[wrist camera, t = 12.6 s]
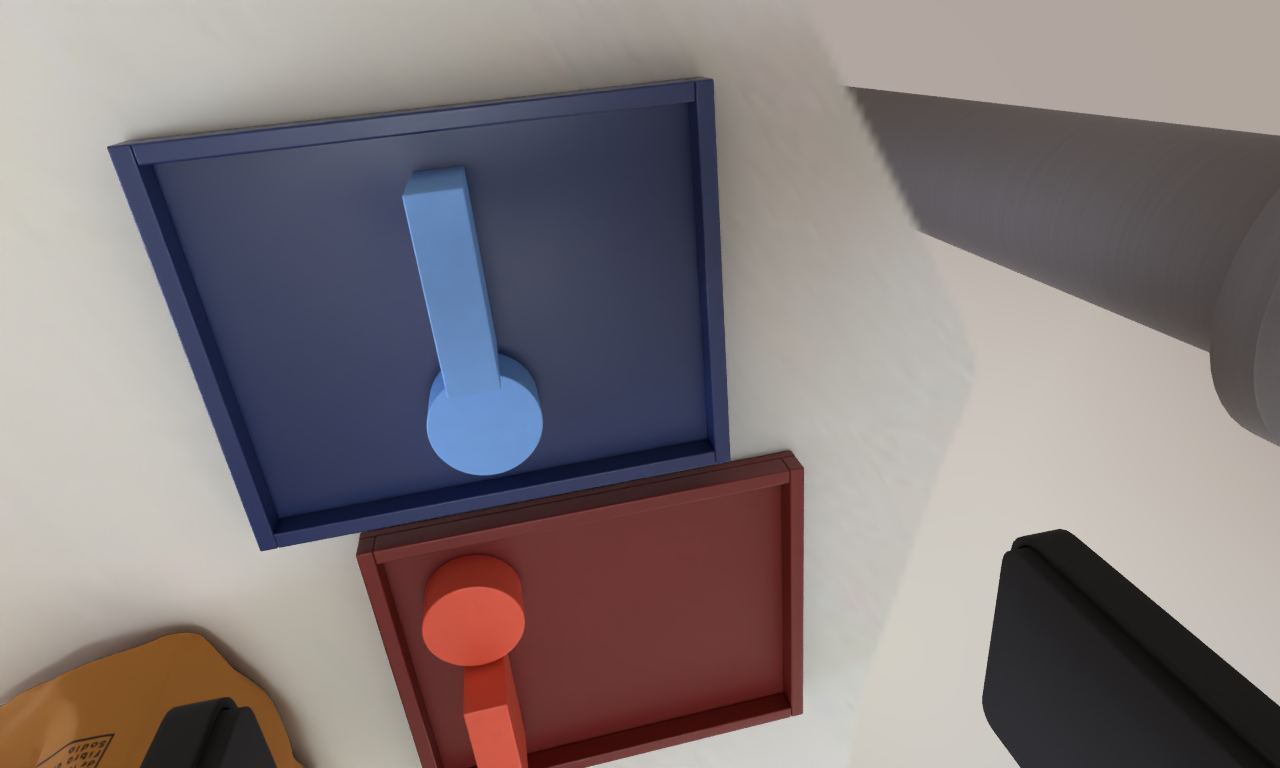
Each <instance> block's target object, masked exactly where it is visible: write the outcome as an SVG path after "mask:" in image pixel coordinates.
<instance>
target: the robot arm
mask: <svg viewBox="0 0 1280 768" xmlns="http://www.w3.org/2000/svg"><path fill="white" fill-rule="evenodd" d="M982 704H983V710H984V713H985V716H986V718H987V721H988V723H989V725H990V726H991V728H992V729H993V731H994V732H995V734H996V735H997V736H998V738H999V739H1000V740H1001V742H1002V743H1003V744H1004V746H1005V747H1006V748H1007V750H1008V751H1009V752H1010V754H1011V755H1012V756H1013V758H1014V759H1015V761H1016V762H1017V763H1018V765H1019V766H1020V767H1021V768H1280V706H1279V705H1277V704H1276V703H1275V702H1274V701H1273V700H1271V699H1270V698H1269V697H1268V696H1267V695H1265V694H1264V693H1263V692H1262V691H1261V690H1259V689H1258V688H1257V687H1256V686H1255V685H1253V684H1252V683H1251V682H1250V681H1249V680H1247V679H1246V678H1245V677H1244V676H1243V675H1241V674H1240V673H1239V672H1238V671H1237V670H1235V669H1234V668H1233V667H1232V666H1231V665H1229V664H1228V663H1227V662H1226V661H1224V660H1223V659H1222V658H1221V657H1220V656H1219V655H1217V654H1216V653H1215V652H1214V651H1213V650H1211V649H1210V648H1209V647H1208V646H1206V645H1205V644H1204V643H1203V642H1202V641H1201V640H1199V639H1198V638H1197V637H1196V636H1195V635H1193V634H1192V633H1191V632H1190V631H1189V630H1187V629H1186V628H1185V627H1184V626H1183V625H1181V624H1180V623H1179V622H1178V621H1177V620H1175V619H1174V618H1173V617H1172V616H1171V615H1169V614H1168V613H1167V612H1166V611H1165V610H1163V609H1162V608H1161V607H1160V606H1159V605H1157V604H1156V603H1155V602H1154V601H1152V600H1151V599H1150V598H1149V597H1148V596H1147V595H1145V594H1144V593H1143V592H1142V591H1140V590H1139V589H1138V588H1137V587H1136V586H1134V585H1133V584H1132V583H1131V582H1130V581H1129V580H1127V579H1126V578H1125V577H1124V576H1123V575H1121V574H1120V573H1119V572H1118V571H1117V570H1115V569H1114V568H1113V567H1112V566H1111V565H1109V564H1108V563H1107V562H1106V561H1105V560H1103V559H1102V558H1101V557H1100V556H1098V555H1097V554H1096V553H1095V552H1094V551H1093V550H1091V549H1090V548H1089V547H1088V546H1087V545H1085V544H1084V543H1083V542H1082V541H1081V540H1079V539H1078V538H1077V537H1076V536H1075V535H1073V534H1072V533H1070V532H1068V531H1067V530H1062V529H1057V530H1052V531H1047V532H1042V533H1037V534H1032V535H1027V536H1023V537H1019V538H1017V539H1016V540H1015V541H1014V542H1013V545H1012V548H1011V551H1008V552H1006V553H1005V554H1004V556H1003V560H1002V566H1001V573H1000V580H999V586H998V593H997V600H996V607H995V614H994V621H993V628H992V635H991V641H990V649H989V656H988V662H987V669H986V676H985V682H984V689H983V696H982ZM140 768H277V765H276V763H275V761H274V758H273V756H272V754H271V751H270V749H269V747H268V744H267V742H266V740H265V737H264V735H263V733H262V730H261V728H260V726H259V723H258V721H257V719H256V716H255V714H254V712H253V711H252V709H251V708H250V707H248V706H244V707H239V708H238V706H237V705H236V703H235V702H234V700H233V699H231V698H230V697H222V698H217V699H212V700H207V701H202V702H197V703H192V704H187V705H182V706H177V707H173V708H172V709H170V710H169V711H168V712H167V713H166V715H165V717H164V718H163V720H162V722H161V724H160V726H159V728H158V730H157V732H156V734H155V736H154V739H153V741H152V743H151V745H150V747H149V749H148V751H147V753H146V755H145V757H144V759H143V762H142V764H141V766H140Z"/></svg>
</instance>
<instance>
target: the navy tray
mask: <svg viewBox="0 0 1280 768" xmlns="http://www.w3.org/2000/svg"><path fill="white" fill-rule="evenodd" d="M107 149H108V152H109V154H110V157H111V160H112V162H113V165H114V167H115V170H116V173H117V175H118V178H119V181H120V183H121V186H122V188H123V191H124V194H125V196H126V199H127V202H128V204H129V207H130V209H131V212H132V215H133V217H134V220H135V223H136V225H137V228H138V231H139V233H140V236H141V238H142V241H143V244H144V246H145V249H146V252H147V254H148V257H149V259H150V262H151V265H152V267H153V270H154V273H155V275H156V278H157V280H158V283H159V286H160V288H161V291H162V294H163V296H164V299H165V301H166V304H167V307H168V309H169V312H170V315H171V317H172V320H173V322H174V325H175V328H176V330H177V333H178V336H179V338H180V341H181V343H182V346H183V349H184V351H185V354H186V357H187V359H188V362H189V364H190V367H191V370H192V372H193V375H194V378H195V380H196V383H197V386H198V388H199V391H200V393H201V396H202V399H203V401H204V404H205V407H206V409H207V412H208V414H209V417H210V420H211V422H212V425H213V428H214V430H215V433H216V435H217V438H218V441H219V443H220V446H221V449H222V451H223V454H224V456H225V459H226V462H227V464H228V467H229V470H230V472H231V475H232V477H233V480H234V483H235V485H236V488H237V491H238V493H239V496H240V498H241V501H242V504H243V506H244V509H245V512H246V514H247V517H248V519H249V522H250V525H251V527H252V530H253V533H254V535H255V538H256V540H257V543H258V546H259V548H260V551H265V550H270V549H276V548H278V547H279V548H280V547H285V546H291V545H296V544H301V543H306V542H312V541H317V540H322V539H327V538H333V537H338V536H343V535H348V534H353V533H359V532H364V531H369V530H374V529H380V528H385V527H390V526H395V525H401V524H406V523H411V522H416V521H421V520H427V519H432V518H437V517H442V516H448V515H453V514H458V513H463V512H469V511H474V510H479V509H484V508H489V507H495V506H500V505H505V504H510V503H516V502H521V501H526V500H531V499H536V498H542V497H547V496H552V495H557V494H563V493H568V492H573V491H578V490H584V489H589V488H594V487H599V486H604V485H610V484H615V483H620V482H625V481H631V480H636V479H641V478H646V477H652V476H657V475H662V474H667V473H672V472H678V471H683V470H688V469H693V468H699V467H704V466H709V465H714V464H715V463H716V464H719V463H724V462H729V461H730V441H729V419H728V396H727V374H726V352H725V329H724V307H723V285H722V262H721V240H720V218H719V195H718V173H717V150H716V128H715V106H714V83H713V79H710V78H704V77H694V78H685V79H677V80H668V81H659V82H650V83H641V84H632V85H623V86H614V87H605V88H596V89H587V90H578V91H569V92H560V93H551V94H542V95H533V96H524V97H515V98H506V99H497V100H488V101H479V102H470V103H461V104H452V105H443V106H434V107H426V108H417V109H408V110H399V111H390V112H381V113H372V114H363V115H354V116H345V117H336V118H327V119H318V120H309V121H300V122H291V123H282V124H273V125H264V126H255V127H246V128H237V129H228V130H219V131H210V132H201V133H192V134H183V135H175V136H166V137H157V138H148V139H139V140H130V141H125V142H122V143H118V144H115V145H111V146H108V147H107ZM457 166H464V169H465V174H466V179H467V185H468V190H469V195H470V201H471V206H472V212H473V217H474V222H475V228H476V233H477V238H478V244H479V249H480V255H481V260H482V265H483V271H484V276H485V281H486V287H487V292H488V298H489V303H490V308H491V314H492V319H493V325H494V330H495V335H496V341H497V350H498V353H499V354H503V355H505V356H508V357H510V358H512V359H514V360H516V361H517V362H518V363H520V364H521V365H522V366H523V367H524V368H525V369H526V370H527V371H528V372H529V373H530V375H531V376H532V378H533V380H534V382H535V384H536V387H537V391H538V396H539V401H540V406H541V411H542V416H543V430H542V434H541V438H540V440H539V443H538V445H537V446H536V448H535V450H534V451H533V452H532V454H531V455H530V456H529V457H528V458H527V459H526V460H525V461H523V462H522V463H521V464H519V465H518V466H516V467H514V468H512V469H510V470H508V471H505V472H502V473H498V474H493V475H473V474H469V473H465V472H462V471H459V470H457V469H455V468H453V467H451V466H450V465H448V464H447V463H446V462H444V461H443V460H442V459H441V458H440V457H439V456H438V455H437V454H436V452H435V451H434V449H433V448H432V445H431V443H430V441H429V438H428V434H427V414H428V405H429V396H430V390H431V387H432V384H433V382H434V380H435V378H436V377H437V375H438V374H439V372H440V371H441V368H440V363H439V359H438V354H437V350H436V346H435V341H434V337H433V332H432V328H431V323H430V319H429V314H428V310H427V305H426V301H425V297H424V292H423V288H422V283H421V279H420V274H419V270H418V265H417V261H416V256H415V252H414V247H413V243H412V239H411V234H410V230H409V225H408V221H407V216H406V212H405V207H404V203H403V198H402V195H403V193H404V191H405V188H406V186H407V184H408V181H409V179H410V176H411V174H412V172H416V171H424V170H432V169H440V168H449V167H457Z"/></svg>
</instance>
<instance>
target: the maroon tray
mask: <svg viewBox="0 0 1280 768" xmlns="http://www.w3.org/2000/svg"><path fill="white" fill-rule="evenodd" d="M467 555H487V556H491V557H495V558H497V559H500V560H502V561H504V562H505V563H507V564H508V565H509V566H511V567H512V568H513V570H514V571H515V572H516V573H517V575H518V577H519V579H520V582H521V587H522V597H523V607H524V617H525V627H524V631H523V634H522V637H521V638H520V640H519V642H518V643H517V644H516V646H515V647H514V648H513V649H512V650H511V651H510V652H509V653H508V657H509V661H510V666H511V670H512V675H513V679H514V684H515V688H516V693H517V697H518V702H519V706H520V711H521V715H522V720H523V724H524V729H525V737H526V749H527V761H528V768H585V767H589V766H594V765H598V764H602V763H606V762H610V761H614V760H618V759H622V758H626V757H630V756H634V755H638V754H642V753H646V752H650V751H654V750H658V749H662V748H666V747H671V746H675V745H679V744H683V743H687V742H691V741H695V740H699V739H703V738H707V737H711V736H715V735H719V734H723V733H727V732H731V731H735V730H739V729H743V728H748V727H752V726H756V725H760V724H764V723H768V722H772V721H776V720H780V719H784V718H788V717H791V716H796V715H800V714H803V560H804V467H803V466H802V465H801V464H800V462H799V461H798V460H797V459H796V457H795V456H794V454H793V453H792V452H791V451H788V452H783V453H777V454H772V455H767V456H762V457H757V458H751V459H746V460H741V461H736V462H730V463H725V464H720V465H715V466H710V467H704V468H699V469H694V470H689V471H683V472H678V473H673V474H668V475H663V476H657V477H652V478H647V479H642V480H636V481H631V482H626V483H621V484H616V485H610V486H605V487H600V488H595V489H589V490H584V491H579V492H574V493H569V494H563V495H558V496H553V497H548V498H542V499H537V500H532V501H527V502H522V503H516V504H511V505H506V506H501V507H495V508H490V509H485V510H480V511H475V512H469V513H464V514H459V515H454V516H448V517H443V518H438V519H433V520H428V521H422V522H417V523H412V524H407V525H401V526H396V527H391V528H386V529H380V530H375V531H370V532H365V533H361V534H360V538H359V544H358V549H357V553H356V558H357V561H358V564H359V567H360V570H361V574H362V577H363V580H364V583H365V586H366V589H367V593H368V596H369V599H370V602H371V605H372V609H373V612H374V615H375V618H376V621H377V624H378V628H379V631H380V634H381V637H382V640H383V644H384V647H385V650H386V653H387V656H388V659H389V663H390V666H391V669H392V672H393V675H394V679H395V682H396V685H397V688H398V691H399V694H400V698H401V701H402V704H403V707H404V710H405V714H406V717H407V720H408V723H409V726H410V730H411V733H412V736H413V739H414V742H415V745H416V749H417V752H418V755H419V758H420V761H421V765H422V768H477V764H476V760H475V756H474V753H473V749H472V745H471V741H470V738H469V734H468V730H467V727H466V723H465V719H464V715H463V689H464V666H460V665H454V664H451V663H448V662H445V661H443V660H441V659H439V658H438V657H436V656H435V655H434V654H433V653H432V652H431V651H430V650H429V649H428V648H427V646H426V644H425V642H424V640H423V636H422V617H423V604H424V593H425V588H426V585H427V583H428V581H429V579H430V577H431V576H432V575H433V573H434V572H435V571H436V570H437V569H438V568H440V567H441V566H442V565H444V564H445V563H447V562H449V561H451V560H453V559H456V558H458V557H462V556H467Z"/></svg>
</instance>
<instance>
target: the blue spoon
mask: <svg viewBox="0 0 1280 768" xmlns="http://www.w3.org/2000/svg"><path fill="white" fill-rule="evenodd" d="M402 198H403V203H404V207H405V212H406V216H407V221H408V225H409V230H410V234H411V239H412V243H413V247H414V252H415V256H416V261H417V265H418V270H419V274H420V279H421V283H422V288H423V292H424V297H425V301H426V305H427V310H428V314H429V319H430V323H431V328H432V332H433V337H434V341H435V346H436V350H437V354H438V359H439V363H440V368H441V371H440V372H439V374H438V375H437V377H436V378H435V380H434V382H433V384H432V387H431V390H430V396H429V405H428V414H427V434H428V438H429V441H430V443H431V445H432V448H433V449H434V451H435V452H436V454H437V455H438V456H439V457H440V458H441V459H442V460H443V461H444V462H446V463H447V464H448V465H450V466H451V467H453V468H455V469H457V470H459V471H462V472H465V473H469V474H473V475H493V474H498V473H502V472H505V471H508V470H510V469H512V468H514V467H516V466H518V465H519V464H521V463H522V462H523V461H525V460H526V459H527V458H528V457H529V456H530V455H531V454H532V452H533V451H534V450H535V448H536V446H537V445H538V443H539V440H540V438H541V434H542V430H543V416H542V411H541V406H540V401H539V396H538V391H537V387H536V384H535V382H534V380H533V378H532V376H531V375H530V373H529V372H528V371H527V370H526V369H525V368H524V367H523V366H522V365H521V364H520V363H518V362H517V361H516V360H514V359H512V358H510V357H508V356H505V355H503V354H499V353H498V350H497V341H496V335H495V330H494V325H493V319H492V314H491V308H490V303H489V298H488V292H487V287H486V281H485V276H484V271H483V265H482V260H481V255H480V249H479V244H478V238H477V233H476V228H475V222H474V217H473V212H472V206H471V201H470V195H469V190H468V185H467V179H466V174H465V169H464V166H457V167H449V168H440V169H432V170H424V171H416V172H412V174H411V176H410V179H409V181H408V184H407V186H406V188H405V191H404V193H403V195H402Z"/></svg>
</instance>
